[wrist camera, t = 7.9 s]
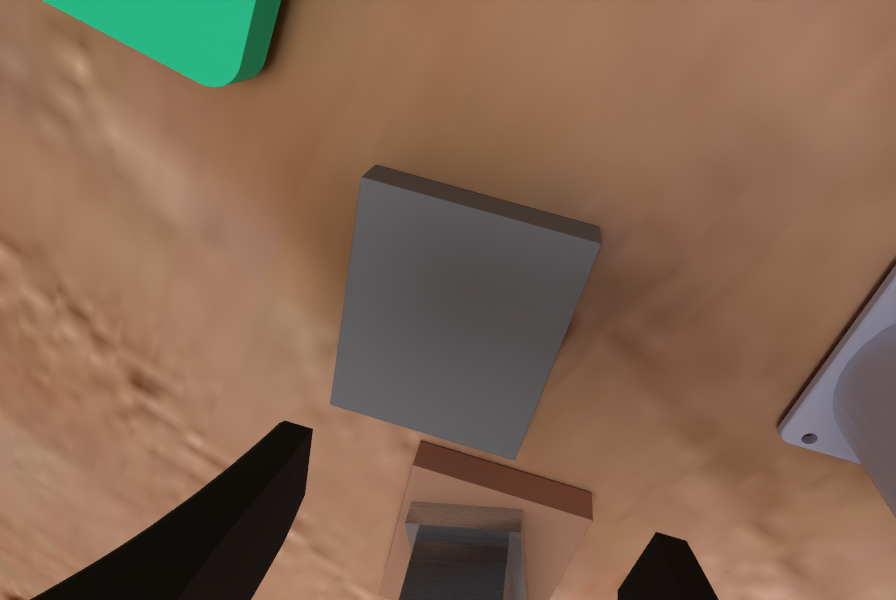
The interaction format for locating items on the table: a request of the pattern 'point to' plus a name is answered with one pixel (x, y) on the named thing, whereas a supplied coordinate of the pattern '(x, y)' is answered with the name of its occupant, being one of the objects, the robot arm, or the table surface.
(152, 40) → the camera mount
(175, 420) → the table surface
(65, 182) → the table surface
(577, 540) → the stand
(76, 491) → the table surface
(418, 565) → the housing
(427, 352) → the stand
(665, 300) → the table surface
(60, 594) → the robot arm
